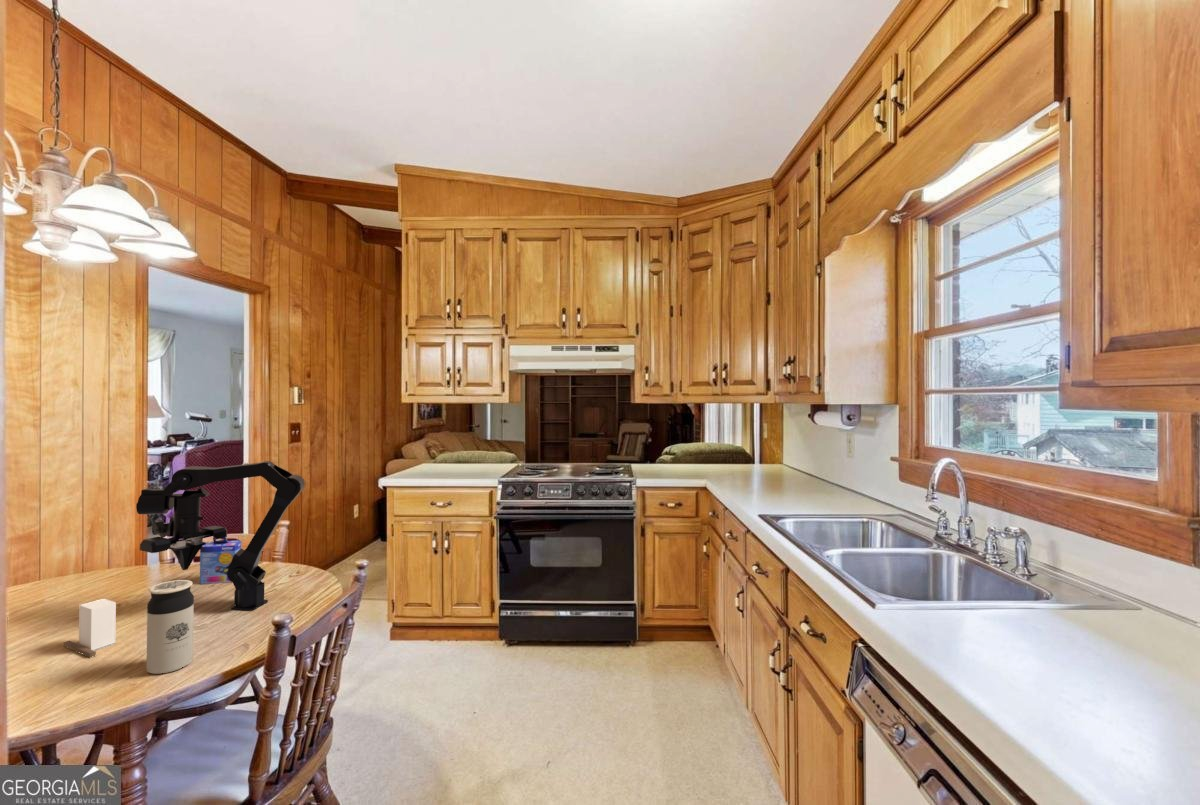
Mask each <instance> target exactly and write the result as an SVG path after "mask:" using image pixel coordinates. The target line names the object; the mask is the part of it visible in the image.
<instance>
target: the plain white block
mask: <svg viewBox="0 0 1200 805" xmlns="http://www.w3.org/2000/svg"><path fill="white" fill-rule="evenodd" d="M78 606H79V608H78V613H79V614H78V644H79V645H81V646H84V647H86V648H88V649H91V650H96V651H98V650H97V649H99V648H102V647H105V648H107V647H110V646H112V645H111V644H113V645H115V644H116V629H117V628H116V625H117V624H116V622H117V621H116V620H117V616H116V615H117V614H116V613H117V609H116V608H117V607H116V606H117V602H116V601H113V600H110V599H107V598H105V597H104V598H101V599H97V600H93V601H90V602H89V601H88V602H85V603H82V604H79V605H78ZM114 643H115V644H114ZM109 645H110V646H109ZM106 646H107V647H106ZM102 649H103V648H102ZM99 650H100V649H99Z"/></svg>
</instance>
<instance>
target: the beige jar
mask: <svg viewBox="0 0 1200 805" xmlns="http://www.w3.org/2000/svg"><path fill="white" fill-rule="evenodd" d="M192 585H193V581H191V580H189V579H176V580H169V581H168V580H167V581H164V582H161V583H157V584H155V585H152V586H151V587H150V588H149V589H148V592H149V593H150V595H151V596H150V597H151V598H150V599H149V601H148V602H147V607H146V608H147V609H146V610H147V611H146V613H147V614H146V669H145V670H146V672H147V673H149V674H155V675H156V674H157V675H159V674H161V675H162V673H163V674H166V673H168V674H169V673H171V672H175V671H178V670H180V669H183V668H185V667H186V666H188V665H190V663H191V662H192V661H193V659H194V609H195V608H194V606H195V605H194V603H195V602H194V601H195V599H194V598H195V596H194V594H193V593H192V591H191V587H192ZM182 667H183V668H182Z"/></svg>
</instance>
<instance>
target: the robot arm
mask: <svg viewBox="0 0 1200 805" xmlns="http://www.w3.org/2000/svg"><path fill="white" fill-rule="evenodd" d="M255 477H262V478H263V479H264V480H265V481H266V482H267V483H269V484H270V485H271V486H272V487H273V488H275V489H276V492H275V494H274V498H273V501H272V504H271V506H270V508H269V510H268V511H267V513H266V514H265V516H264V518H263V520H262V521H261V523H260V524H259V526H258V529H257V530H256V532H255V533H254V535H253V537H252V538H251V540H250V542H249V544H247V546H246V548H245V549H243V548H242V547H241V549H240V550H239V551H238V552H237V553H235V554H234V556H233V559H232V561H231V563H230V564H229V565H228V566H227V567H226V568H229V569H228V571H227V577H228V579H229V580H230V581H231V582H230V583H232V584H233V586H234V588H235V590H234V596H233V597H234V602H233V604H234V605H233V606H231V607H230V609H231V610H237V611H238V610H240V611H254V610H255V609H257V608H259V607H261V606H263V605H265V604H266V603H268V601H269V599H265V582H263V581H262V580H263V579H264V578H265V575H266V574H267V571H266V570H265V569H264V568H262V567H261V566H259V562H260V560H261V556H262V553H263V550H264V548H265V547H266V545H267V543H268V541H269V540H270V538H271V536H272V534H273V533H274V531H275V529H276V527H277V526H278V524H279V522H280V521H281V519H282V517H283V516H284V514H285V513H286V511H287V509H288V507H289V506H290V505H291V504H292V503H293V502H294V500H295V499H296V498H297V497H298V496H299V495H300V494H301V492H302V491H303V490H304V488H305V486H306V481H305V479H304V478H303V477H302V476H301V475H300V474H293V473H291V472H290V471H288V470H286V469H285V468H282V467H280V466H279V465H277V464H275V463H274V462H272V461H271V460H264V461H262V462H254V463H245V464H236V465H229V466H228V465H227V466H219V467H211V466H200V465H199V466H196V465H194V466H193V465H192V466H187V467H184V468H181V469H179V470H176V471H175V472H173V474H172V476H171V481H170V482H169V484H168V485H167V486H166V487H165V488H159V489H158V488H144V489H142V490H140V492H141V493H140V495H139V497H138V500H137V502H136V504H135V506H136V509H135V510H136V512H137V514H138V515H165V514H166V515H167V514H168V513H169V511H171V510H173V516H170V518H169V522H168V523H165V522H164V521H158V522H153V523H152V525H151V533H152V535H153V536H154V537H149V538H144V539H143V540H142V541H141V542H140V544H139V551H141V552H144V553H146V552H147V553H150V554H157V553H162V552H165V551H168V550H171V551H172V552H173V553H174V555H175V557H176V559H177V561H178V563H179V566H180V568H181V570H182V571H186V570H188V569H189V568H190V566H191V564H192V562H193V561H194V559H195V558H196V556H197V555H198V553H199V552H200V549H201V547H202V546H203V545H206V542H207V541H204V539H206V538H211V537H212V538H215V539H217V540H221V539H220V538H225V537H226V538H227V537H228V530H227V528H226V527H224V526H219V525H210V526H206V527H202V528H201V529H200V524H201V523H200V522H201V521H203V520H204V516H203V515H201V498H205V497H208V496H209V495H211V493H210V492H209V491H208V490H206V489H205V487H201V486H205V485H208V484H211V483H216V482H223V481H224V482H225V481H231V480H239V479H241V480H242V479H248V478H255ZM198 487H199V488H198ZM196 488H198V489H196ZM192 489H193V490H192ZM194 489H195V490H194ZM180 491H183V492H182V493H177V492H180ZM156 535H160V536H156ZM167 537H169V538H167Z"/></svg>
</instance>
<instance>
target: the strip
mask: <svg viewBox="0 0 1200 805" xmlns="http://www.w3.org/2000/svg"><path fill="white" fill-rule="evenodd" d="M64 646H66V647H68V648H70V649H69V650H71V649H73V650H75V651H77V652H76V653H78V652H80V653H83V654H84V655H86V656H85V657H87V656H89V657H92V656H94V657H96V656H97V651H93V650H91V649H88V648H86V647H84V646H81V645H79V643H77V642H75V641H72V640H66V641H63V647H64ZM66 647H65V648H66ZM68 648H67V649H68ZM73 650H72V651H73ZM75 651H74V652H75ZM80 653H79V654H80ZM84 655H83V656H84ZM95 655H96V656H95ZM89 657H88V658H89ZM92 658H93V657H92Z"/></svg>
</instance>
